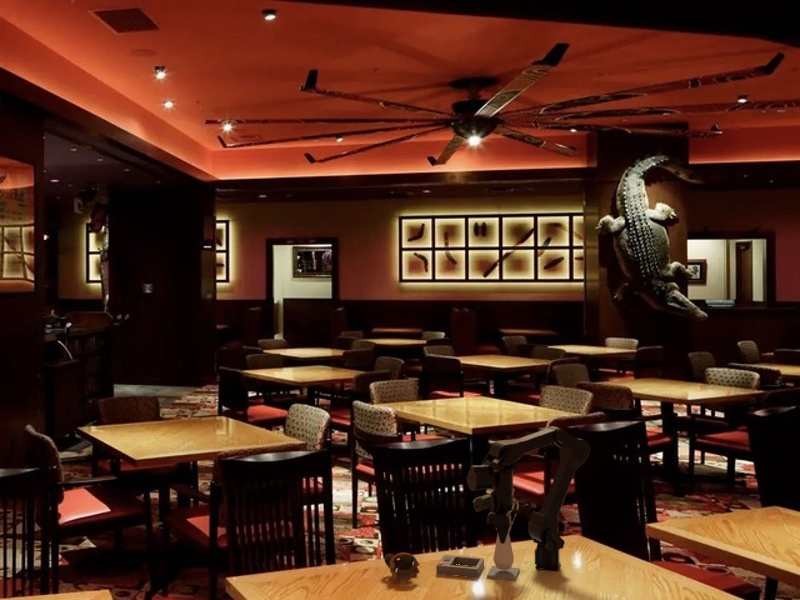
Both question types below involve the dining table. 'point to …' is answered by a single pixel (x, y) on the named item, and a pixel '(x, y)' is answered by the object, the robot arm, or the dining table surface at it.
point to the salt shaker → (503, 554)
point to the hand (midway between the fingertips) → (503, 541)
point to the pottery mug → (402, 566)
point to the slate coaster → (503, 573)
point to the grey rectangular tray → (450, 561)
